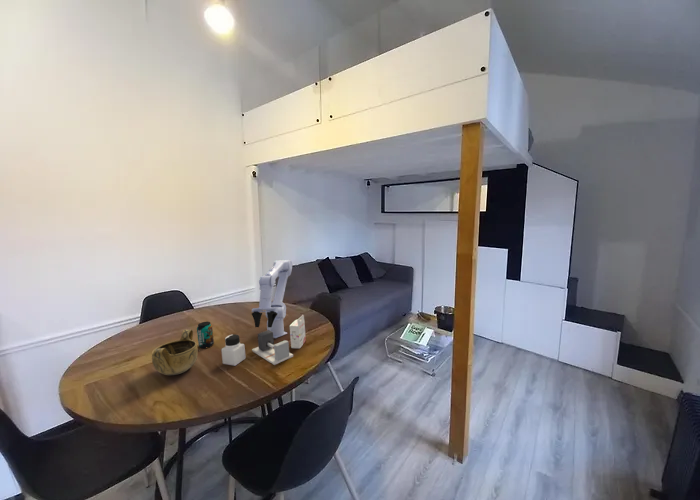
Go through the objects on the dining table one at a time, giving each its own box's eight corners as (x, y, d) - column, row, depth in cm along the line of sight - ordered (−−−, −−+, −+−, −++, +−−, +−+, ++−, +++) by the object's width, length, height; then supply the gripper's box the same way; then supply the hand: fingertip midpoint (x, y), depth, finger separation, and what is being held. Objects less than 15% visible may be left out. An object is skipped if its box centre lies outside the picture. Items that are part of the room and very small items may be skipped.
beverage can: (216, 345, 147) (214, 323, 146) (201, 350, 142) (199, 327, 141) (210, 341, 152) (208, 320, 151) (196, 346, 147) (194, 324, 146)
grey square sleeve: (258, 348, 139) (257, 333, 138) (269, 344, 143) (268, 330, 142) (262, 351, 136) (261, 336, 135) (274, 346, 140) (272, 332, 139)
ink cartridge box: (297, 340, 150) (295, 313, 148) (306, 341, 149) (304, 313, 147) (290, 348, 141) (288, 319, 139) (299, 348, 140) (298, 320, 138)
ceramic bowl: (181, 386, 113) (177, 350, 111) (139, 387, 113) (134, 351, 111) (209, 357, 135) (206, 327, 133) (174, 358, 135) (170, 328, 133)
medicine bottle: (246, 358, 133) (243, 333, 131) (235, 366, 126) (232, 340, 125) (233, 356, 135) (231, 332, 134) (222, 363, 129) (219, 338, 127)
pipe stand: (252, 351, 140) (250, 335, 139) (270, 343, 147) (269, 329, 146) (274, 365, 126) (273, 347, 125) (293, 356, 133) (292, 340, 132)
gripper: (248, 299, 142) (245, 327, 139) (272, 298, 137) (270, 327, 133) (258, 300, 149) (255, 327, 145) (281, 299, 143) (279, 327, 140)
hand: (263, 327), depth 140 cm, fingers open, 7 cm apart
